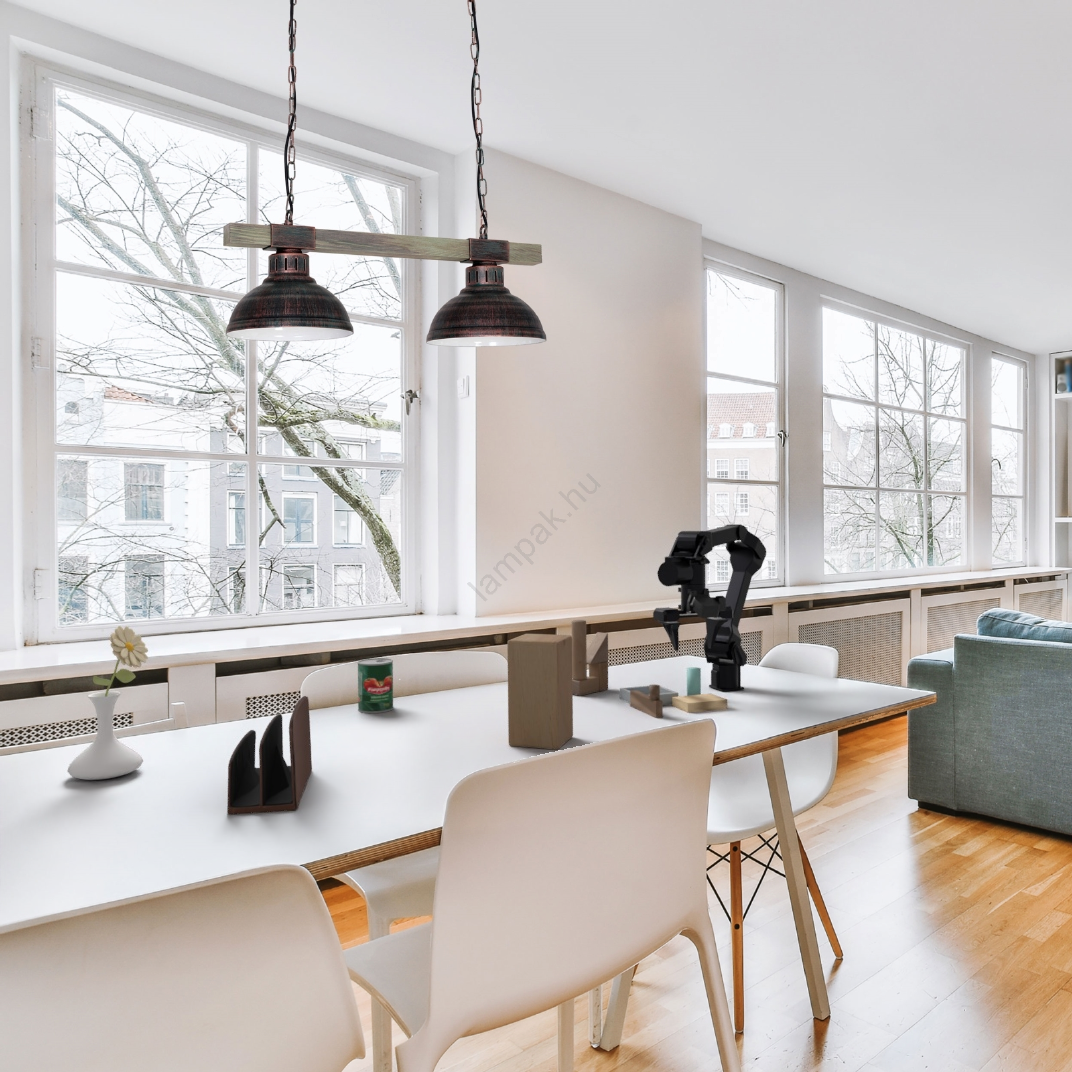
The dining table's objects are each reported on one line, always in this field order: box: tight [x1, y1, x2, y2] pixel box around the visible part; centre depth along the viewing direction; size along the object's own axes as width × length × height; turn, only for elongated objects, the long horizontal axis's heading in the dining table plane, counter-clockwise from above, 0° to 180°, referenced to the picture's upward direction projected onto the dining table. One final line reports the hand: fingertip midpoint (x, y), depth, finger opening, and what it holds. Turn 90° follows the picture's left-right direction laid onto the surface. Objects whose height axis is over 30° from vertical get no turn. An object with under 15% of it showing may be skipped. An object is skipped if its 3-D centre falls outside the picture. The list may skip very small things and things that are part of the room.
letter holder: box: [226, 695, 313, 816], centre depth 130 cm, size 10×20×14 cm, turn 9°
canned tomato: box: [357, 657, 394, 714], centre depth 186 cm, size 8×8×11 cm
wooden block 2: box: [571, 619, 609, 697], centre depth 202 cm, size 4×11×18 cm, turn 135°
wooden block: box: [507, 633, 574, 751], centre depth 157 cm, size 10×10×20 cm
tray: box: [619, 685, 679, 706], centre depth 191 cm, size 10×10×2 cm
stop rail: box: [629, 684, 664, 719], centre depth 181 cm, size 2×12×6 cm, turn 20°
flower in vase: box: [66, 625, 149, 781], centre depth 140 cm, size 13×11×25 cm
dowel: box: [686, 666, 702, 696], centre depth 194 cm, size 3×3×7 cm
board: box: [671, 693, 728, 714], centre depth 185 cm, size 10×7×2 cm
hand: (693, 649), depth 194 cm, fingers open, 9 cm apart
